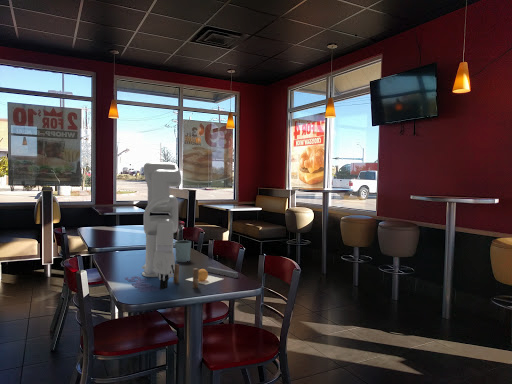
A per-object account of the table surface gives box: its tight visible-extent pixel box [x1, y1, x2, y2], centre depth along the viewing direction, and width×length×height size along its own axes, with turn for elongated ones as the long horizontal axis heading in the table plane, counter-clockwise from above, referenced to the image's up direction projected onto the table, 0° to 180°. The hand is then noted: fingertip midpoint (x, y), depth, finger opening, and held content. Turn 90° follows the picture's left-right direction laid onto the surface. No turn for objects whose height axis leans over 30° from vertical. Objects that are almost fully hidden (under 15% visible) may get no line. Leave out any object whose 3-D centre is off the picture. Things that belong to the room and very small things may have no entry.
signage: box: [124, 275, 163, 293], centre depth 189 cm, size 28×1×10 cm
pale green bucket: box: [174, 240, 192, 263], centre depth 243 cm, size 10×10×12 cm
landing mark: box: [185, 274, 224, 285], centre depth 200 cm, size 14×14×1 cm
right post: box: [192, 268, 200, 289], centre depth 184 cm, size 3×3×9 cm
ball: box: [198, 268, 209, 281], centre depth 197 cm, size 6×6×6 cm
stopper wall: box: [206, 266, 239, 279], centre depth 211 cm, size 20×2×2 cm, turn 56°
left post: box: [173, 263, 180, 285], centre depth 191 cm, size 3×3×9 cm
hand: (163, 288), depth 176 cm, fingers closed
